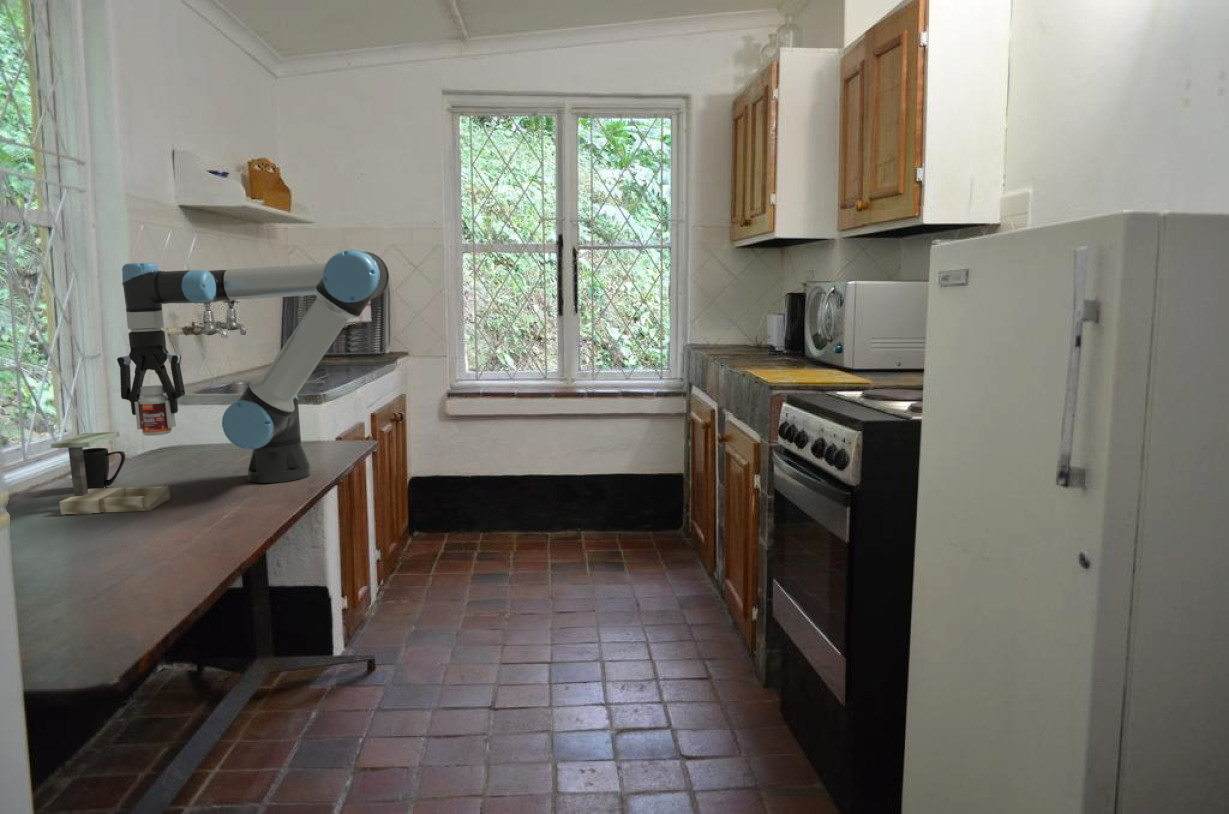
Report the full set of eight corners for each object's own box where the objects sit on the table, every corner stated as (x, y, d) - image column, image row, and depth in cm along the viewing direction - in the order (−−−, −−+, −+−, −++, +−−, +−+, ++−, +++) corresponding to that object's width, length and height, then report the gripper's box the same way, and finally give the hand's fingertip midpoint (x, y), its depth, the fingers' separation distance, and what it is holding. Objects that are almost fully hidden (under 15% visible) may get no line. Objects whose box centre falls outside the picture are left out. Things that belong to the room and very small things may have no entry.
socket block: (172, 497, 207) (165, 430, 204) (145, 512, 194) (137, 440, 191) (91, 500, 206) (83, 433, 203) (59, 515, 193) (50, 443, 191)
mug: (121, 490, 216) (116, 452, 215) (68, 493, 214) (63, 455, 213) (133, 482, 224) (129, 445, 223) (82, 485, 222) (77, 448, 221)
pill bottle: (142, 437, 205) (136, 388, 204) (143, 433, 211) (138, 386, 209) (171, 434, 208) (166, 386, 206) (172, 430, 213) (167, 384, 212)
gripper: (195, 327, 210) (204, 423, 214) (111, 330, 209) (122, 426, 212) (182, 329, 203) (192, 428, 206) (95, 332, 201) (107, 432, 205)
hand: (156, 427), depth 209 cm, fingers closed on pill bottle, 6 cm apart
